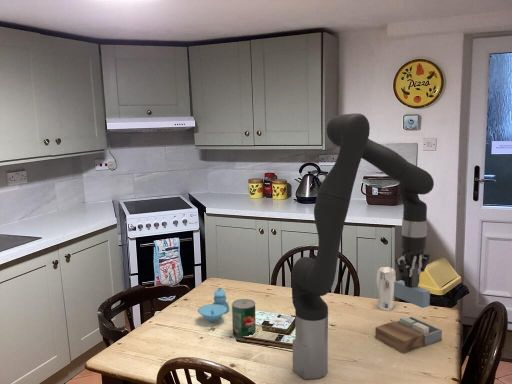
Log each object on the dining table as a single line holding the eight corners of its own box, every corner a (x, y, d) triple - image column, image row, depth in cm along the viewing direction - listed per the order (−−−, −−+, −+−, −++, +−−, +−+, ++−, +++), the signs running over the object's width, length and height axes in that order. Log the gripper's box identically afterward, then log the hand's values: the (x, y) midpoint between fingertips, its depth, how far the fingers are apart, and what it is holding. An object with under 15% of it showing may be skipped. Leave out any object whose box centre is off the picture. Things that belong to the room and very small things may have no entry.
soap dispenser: (222, 328, 165) (221, 304, 163) (194, 326, 167) (193, 302, 166) (235, 308, 182) (235, 286, 181) (210, 306, 184) (209, 284, 183)
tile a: (423, 329, 150) (428, 327, 152) (412, 324, 154) (417, 322, 156) (423, 342, 151) (428, 340, 152) (412, 336, 155) (417, 335, 156)
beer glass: (381, 311, 177) (383, 273, 175) (372, 304, 183) (373, 267, 181) (398, 309, 179) (399, 271, 176) (388, 302, 185) (389, 266, 183)
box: (424, 346, 150) (425, 336, 149) (394, 331, 160) (395, 321, 160) (441, 340, 154) (441, 330, 153) (411, 325, 164) (411, 316, 164)
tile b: (410, 323, 155) (415, 321, 156) (399, 318, 159) (405, 316, 160) (409, 335, 156) (415, 334, 157) (399, 330, 160) (404, 329, 161)
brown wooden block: (403, 353, 145) (403, 341, 145) (375, 338, 156) (375, 327, 155) (423, 346, 150) (423, 334, 149) (394, 331, 160) (395, 320, 159)
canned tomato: (253, 340, 156) (252, 308, 154) (230, 338, 157) (229, 307, 156) (257, 329, 163) (257, 299, 162) (235, 328, 165) (235, 298, 163)
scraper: (422, 308, 147) (424, 270, 145) (393, 296, 157) (395, 261, 156) (429, 306, 149) (431, 269, 147) (400, 294, 159) (401, 259, 157)
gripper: (407, 238, 143) (405, 293, 146) (438, 233, 150) (435, 285, 153) (389, 234, 150) (387, 286, 152) (419, 228, 156) (417, 279, 159)
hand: (411, 285), depth 152 cm, fingers closed on scraper, 2 cm apart
